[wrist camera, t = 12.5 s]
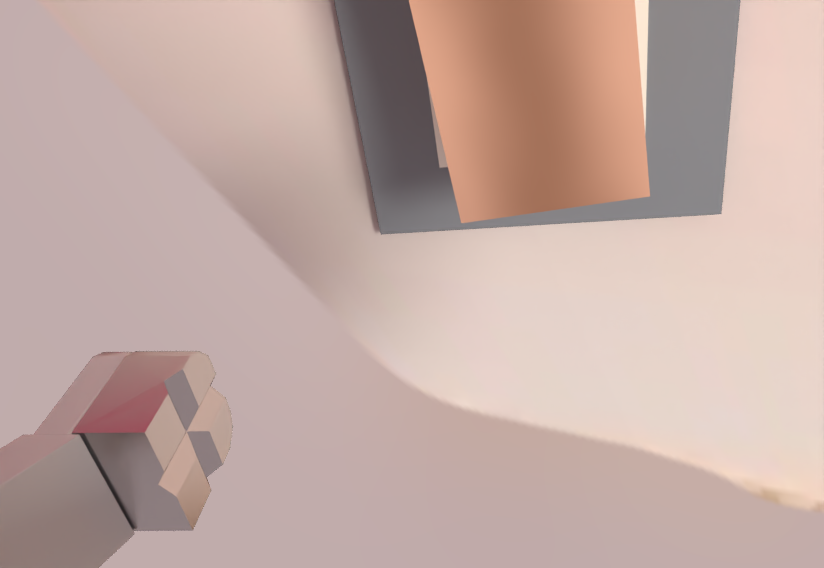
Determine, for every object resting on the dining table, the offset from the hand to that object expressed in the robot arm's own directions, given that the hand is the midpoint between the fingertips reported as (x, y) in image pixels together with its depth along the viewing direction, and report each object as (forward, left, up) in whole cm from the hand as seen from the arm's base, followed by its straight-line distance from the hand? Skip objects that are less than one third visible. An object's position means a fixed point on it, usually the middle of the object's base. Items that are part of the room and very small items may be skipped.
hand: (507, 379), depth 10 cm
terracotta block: (0, 0, -20) cm, 20 cm away
